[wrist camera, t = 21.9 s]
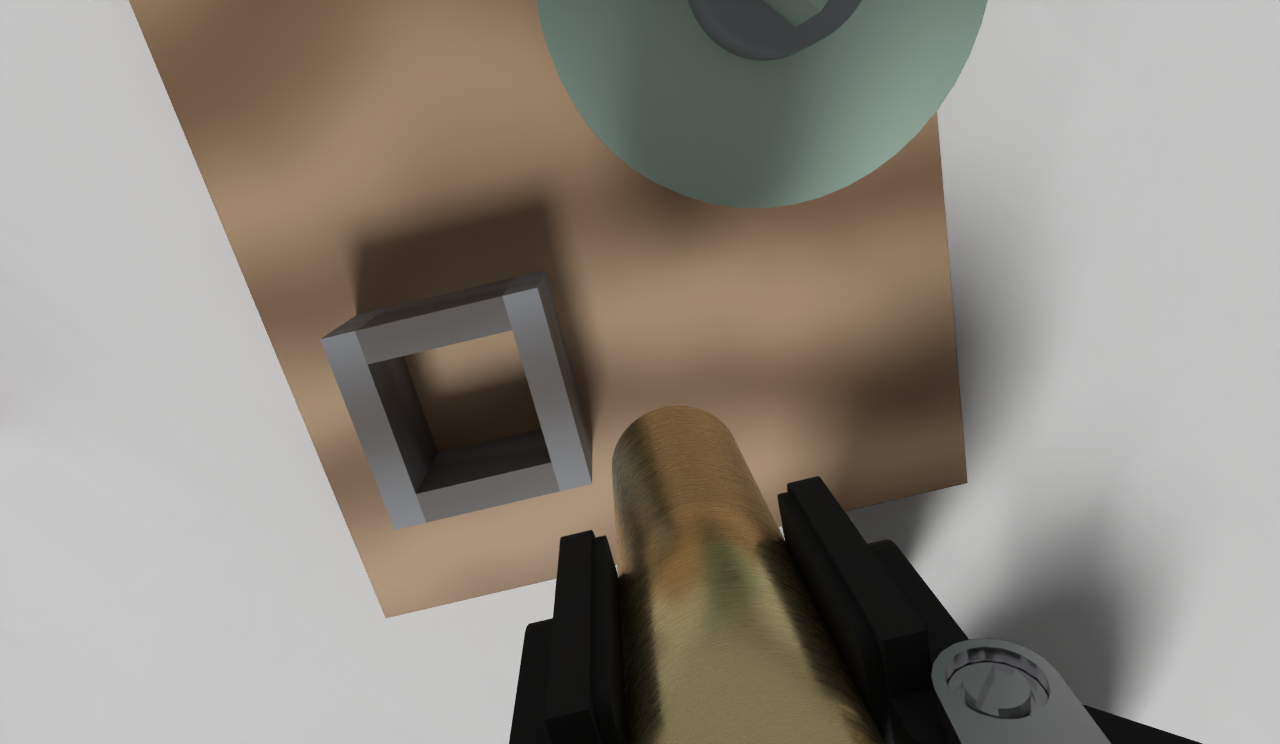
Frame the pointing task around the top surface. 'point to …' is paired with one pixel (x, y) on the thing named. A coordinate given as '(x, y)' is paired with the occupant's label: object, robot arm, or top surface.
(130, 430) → the top surface
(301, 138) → the walnut board
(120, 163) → the top surface
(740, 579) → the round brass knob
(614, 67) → the green door lever handle
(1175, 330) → the top surface
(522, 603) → the top surface
